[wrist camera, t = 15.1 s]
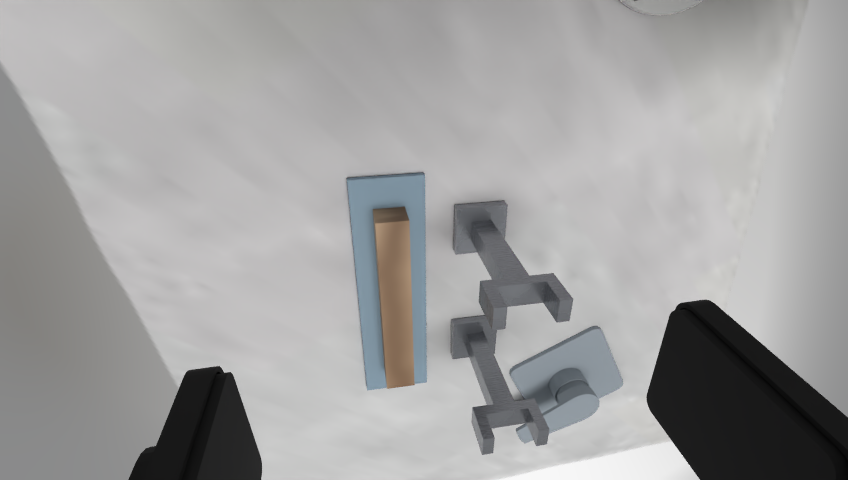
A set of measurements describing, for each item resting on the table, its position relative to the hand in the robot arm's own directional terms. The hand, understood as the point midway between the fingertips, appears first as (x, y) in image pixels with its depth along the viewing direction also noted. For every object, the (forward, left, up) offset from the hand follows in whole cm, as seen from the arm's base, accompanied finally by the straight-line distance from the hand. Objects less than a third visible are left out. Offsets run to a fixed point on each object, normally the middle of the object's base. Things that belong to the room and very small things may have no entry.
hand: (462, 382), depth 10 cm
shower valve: (-22, +37, -33) cm, 54 cm away
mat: (-1, +21, -33) cm, 39 cm away
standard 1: (-10, +28, -33) cm, 44 cm away
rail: (-1, +21, -32) cm, 38 cm away
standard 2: (-10, +14, -33) cm, 37 cm away
